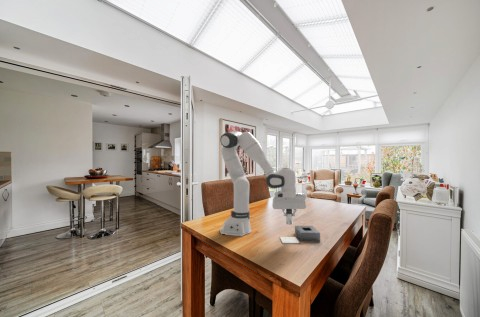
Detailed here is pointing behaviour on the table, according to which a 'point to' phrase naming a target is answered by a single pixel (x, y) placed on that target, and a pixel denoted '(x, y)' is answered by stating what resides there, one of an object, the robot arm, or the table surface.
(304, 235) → the block
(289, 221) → the chuck key
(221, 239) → the table surface
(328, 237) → the table surface
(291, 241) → the set down mat
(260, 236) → the table surface
